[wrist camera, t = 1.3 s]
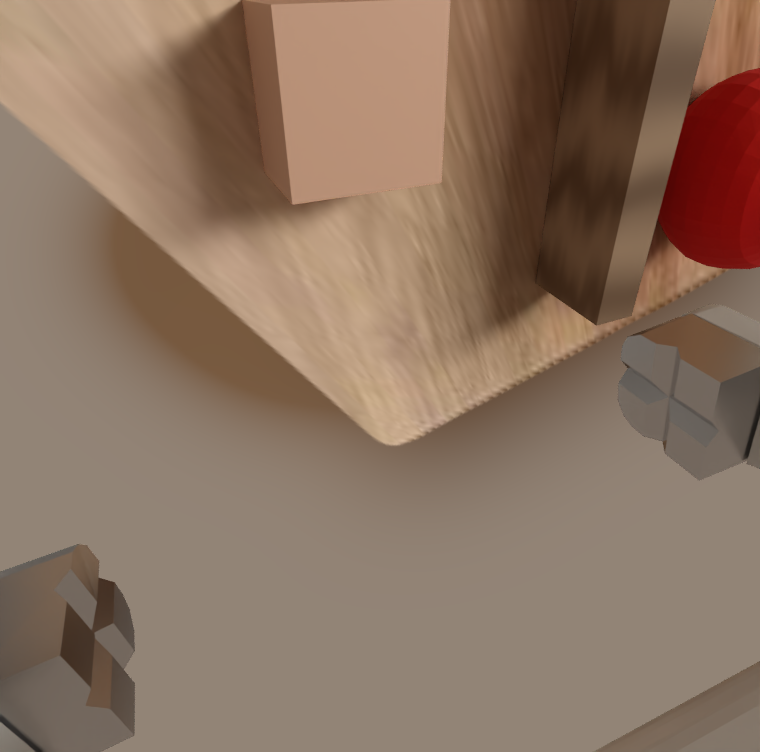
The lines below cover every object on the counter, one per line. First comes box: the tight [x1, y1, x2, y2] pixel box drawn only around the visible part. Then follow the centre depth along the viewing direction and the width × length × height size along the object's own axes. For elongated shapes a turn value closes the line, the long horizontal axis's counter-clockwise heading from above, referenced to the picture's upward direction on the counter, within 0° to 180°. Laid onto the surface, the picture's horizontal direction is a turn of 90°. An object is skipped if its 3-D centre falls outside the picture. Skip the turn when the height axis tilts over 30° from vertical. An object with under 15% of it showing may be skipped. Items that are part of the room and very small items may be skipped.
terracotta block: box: [242, 0, 450, 205], centre depth 28 cm, size 8×8×6 cm
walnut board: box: [536, 0, 716, 325], centre depth 33 cm, size 30×3×7 cm, turn 3°
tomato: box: [658, 68, 760, 269], centre depth 38 cm, size 12×13×11 cm
